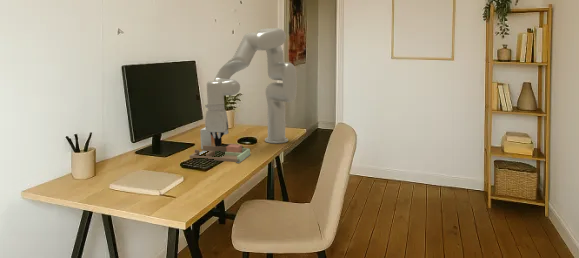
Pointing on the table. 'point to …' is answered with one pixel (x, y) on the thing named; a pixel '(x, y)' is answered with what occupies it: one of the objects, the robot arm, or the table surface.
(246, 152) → the tray
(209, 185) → the table surface
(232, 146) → the block
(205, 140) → the small box
